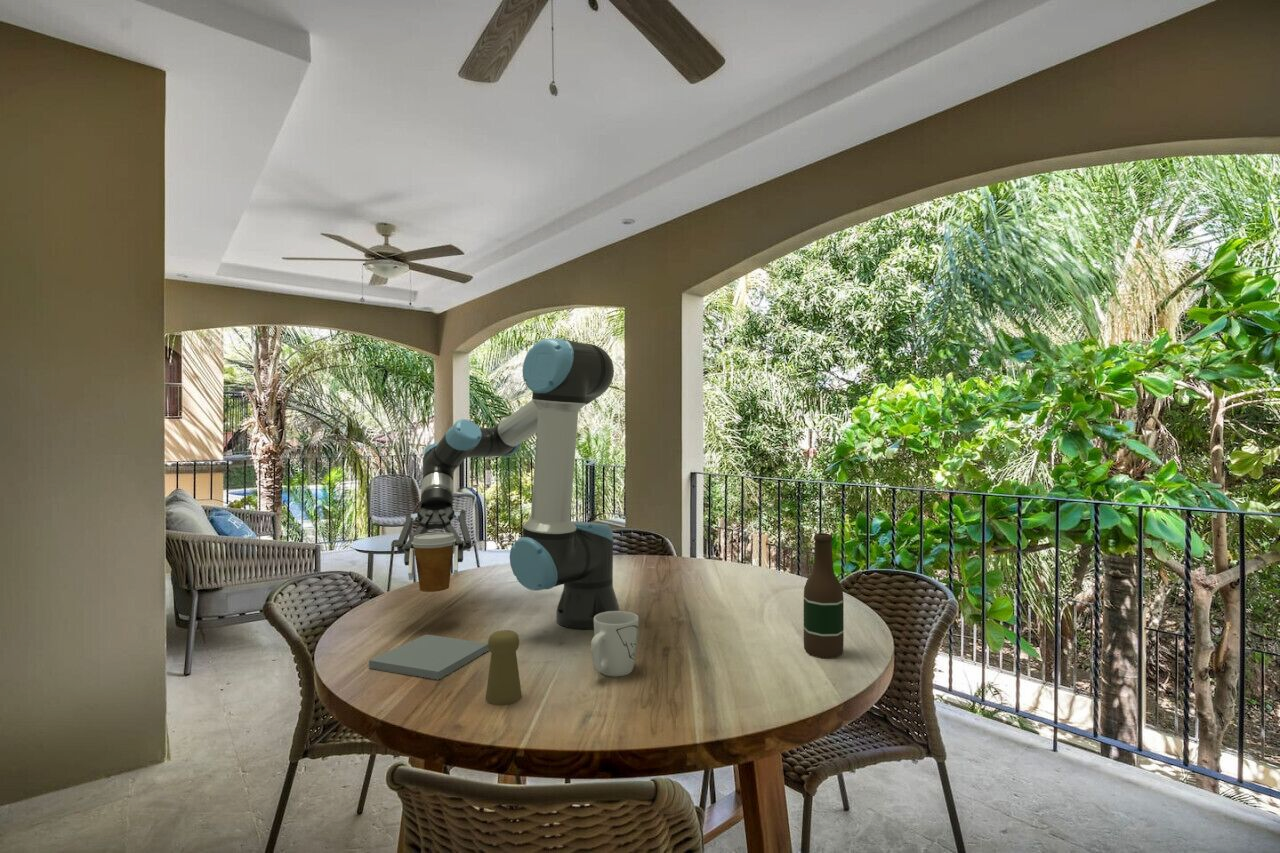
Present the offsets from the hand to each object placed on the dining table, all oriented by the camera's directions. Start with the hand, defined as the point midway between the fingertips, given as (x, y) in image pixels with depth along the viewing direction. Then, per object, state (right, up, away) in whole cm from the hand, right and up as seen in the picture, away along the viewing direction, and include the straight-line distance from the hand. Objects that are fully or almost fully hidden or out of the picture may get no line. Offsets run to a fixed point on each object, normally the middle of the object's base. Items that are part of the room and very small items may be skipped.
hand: (433, 574), depth 139 cm
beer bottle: (+83, -13, -11) cm, 85 cm away
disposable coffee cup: (-1, -4, +3) cm, 5 cm away
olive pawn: (+23, -13, -33) cm, 42 cm away
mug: (+40, -13, -22) cm, 48 cm away
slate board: (+5, -13, -15) cm, 20 cm away
